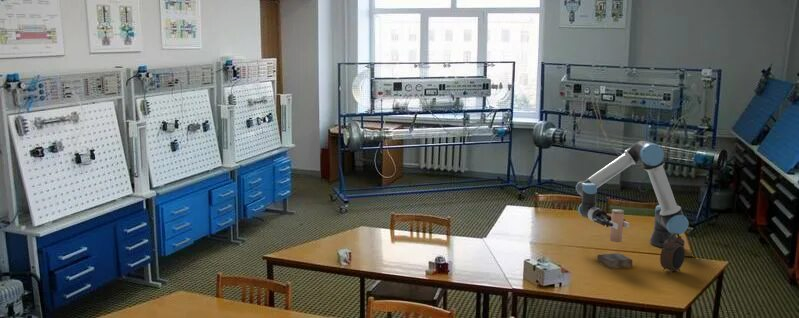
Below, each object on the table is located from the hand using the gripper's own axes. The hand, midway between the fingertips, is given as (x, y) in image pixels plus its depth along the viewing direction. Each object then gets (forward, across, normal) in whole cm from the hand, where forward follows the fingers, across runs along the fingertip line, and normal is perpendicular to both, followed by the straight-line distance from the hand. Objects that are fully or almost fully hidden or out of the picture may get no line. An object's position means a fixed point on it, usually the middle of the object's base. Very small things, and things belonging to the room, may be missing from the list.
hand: (622, 226), depth 367 cm
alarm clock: (+13, -22, -22) cm, 34 cm away
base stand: (-5, 0, -22) cm, 22 cm away
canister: (-5, 0, -9) cm, 10 cm away
